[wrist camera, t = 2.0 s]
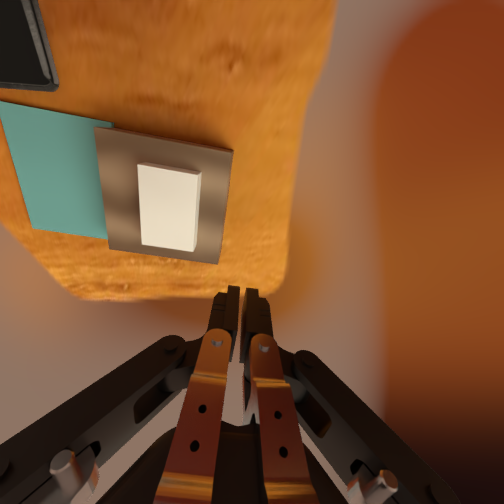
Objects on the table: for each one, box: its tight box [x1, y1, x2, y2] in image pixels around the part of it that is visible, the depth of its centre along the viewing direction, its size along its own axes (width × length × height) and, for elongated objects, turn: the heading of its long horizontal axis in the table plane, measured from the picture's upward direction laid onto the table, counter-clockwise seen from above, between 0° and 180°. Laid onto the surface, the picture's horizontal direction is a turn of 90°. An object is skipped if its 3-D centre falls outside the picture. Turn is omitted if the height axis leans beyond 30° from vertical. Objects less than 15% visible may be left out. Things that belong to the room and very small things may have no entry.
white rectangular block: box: [137, 162, 201, 252], centre depth 26 cm, size 9×6×2 cm, turn 170°
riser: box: [93, 127, 234, 265], centre depth 28 cm, size 14×14×4 cm
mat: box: [0, 101, 114, 239], centre depth 29 cm, size 15×12×1 cm
